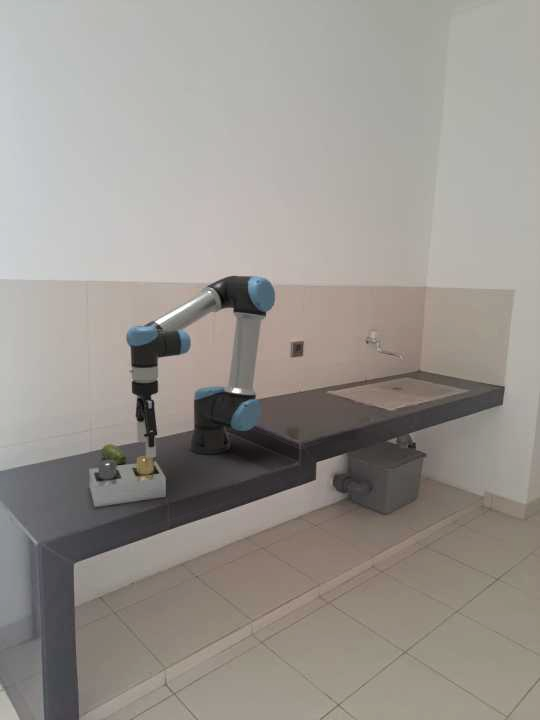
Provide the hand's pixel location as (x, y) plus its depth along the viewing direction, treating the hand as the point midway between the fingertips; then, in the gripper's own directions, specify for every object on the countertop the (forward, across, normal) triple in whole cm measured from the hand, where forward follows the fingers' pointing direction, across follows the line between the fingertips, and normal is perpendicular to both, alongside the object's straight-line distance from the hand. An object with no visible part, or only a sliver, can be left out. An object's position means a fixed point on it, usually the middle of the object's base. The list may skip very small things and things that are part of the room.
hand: (146, 449), depth 157 cm
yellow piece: (+13, 0, 0) cm, 13 cm away
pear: (+13, -28, -6) cm, 31 cm away
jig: (+13, 0, -6) cm, 14 cm away
